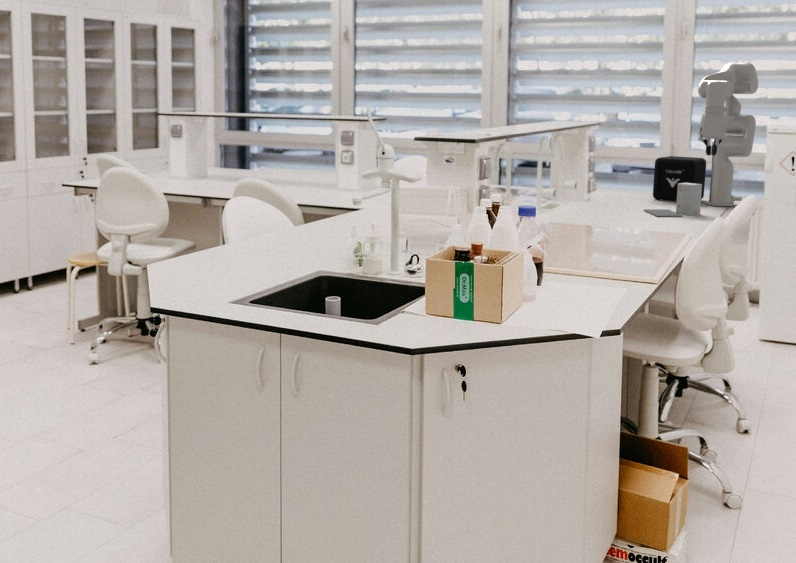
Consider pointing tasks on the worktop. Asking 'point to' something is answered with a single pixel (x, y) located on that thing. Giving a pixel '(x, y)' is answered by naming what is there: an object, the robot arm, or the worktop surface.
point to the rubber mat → (662, 213)
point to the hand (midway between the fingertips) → (710, 155)
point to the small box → (688, 198)
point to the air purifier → (677, 175)
